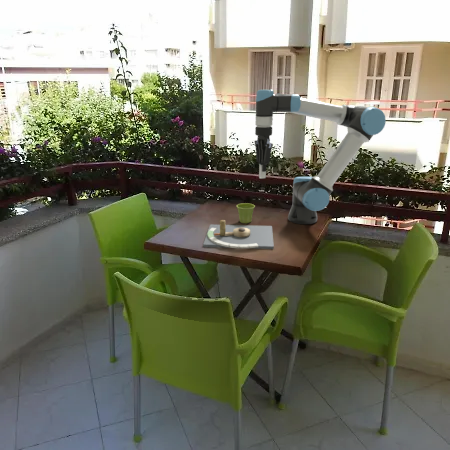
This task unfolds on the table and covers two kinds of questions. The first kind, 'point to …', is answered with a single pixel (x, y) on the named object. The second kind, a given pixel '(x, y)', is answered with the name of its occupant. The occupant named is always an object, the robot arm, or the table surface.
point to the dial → (236, 232)
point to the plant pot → (245, 212)
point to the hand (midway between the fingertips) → (262, 178)
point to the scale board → (258, 237)
